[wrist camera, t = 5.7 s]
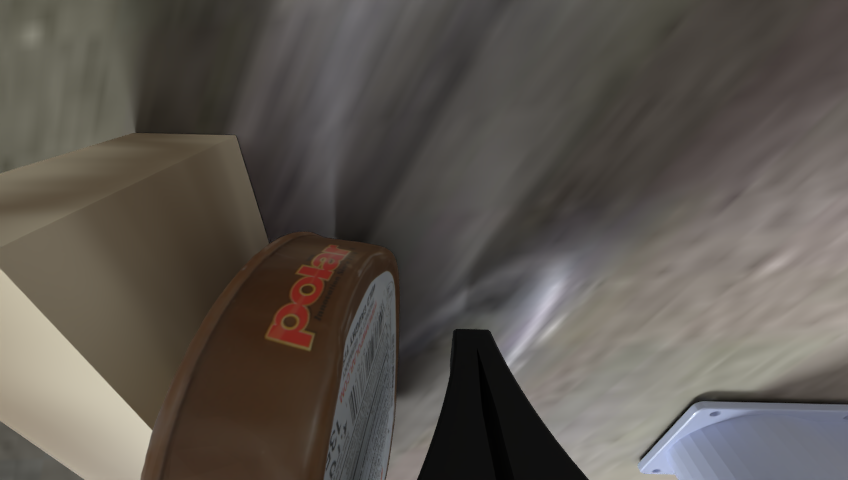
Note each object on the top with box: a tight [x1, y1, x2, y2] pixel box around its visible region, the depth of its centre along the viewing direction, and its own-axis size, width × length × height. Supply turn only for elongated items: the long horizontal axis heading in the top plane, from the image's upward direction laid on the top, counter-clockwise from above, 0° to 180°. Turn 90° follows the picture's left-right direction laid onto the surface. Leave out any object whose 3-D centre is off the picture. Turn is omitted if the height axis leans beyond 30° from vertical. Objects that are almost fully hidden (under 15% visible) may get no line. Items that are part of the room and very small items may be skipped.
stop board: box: [0, 133, 269, 480], centre depth 13 cm, size 3×24×6 cm, turn 179°
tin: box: [140, 232, 400, 480], centre depth 10 cm, size 15×3×8 cm, turn 176°
